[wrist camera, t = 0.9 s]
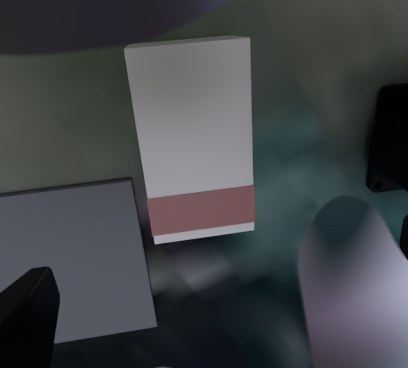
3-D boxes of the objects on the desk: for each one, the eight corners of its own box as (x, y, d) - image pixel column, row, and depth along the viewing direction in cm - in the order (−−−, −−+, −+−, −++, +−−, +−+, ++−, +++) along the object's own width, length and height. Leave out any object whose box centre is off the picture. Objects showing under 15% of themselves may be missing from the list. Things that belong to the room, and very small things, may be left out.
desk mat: (131, 178, 20) (131, 181, 20) (156, 322, 25) (157, 326, 24) (-115, 208, 19) (-121, 212, 19) (-40, 354, 24) (-43, 359, 23)
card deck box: (230, 35, 18) (251, 37, 14) (237, 195, 22) (255, 230, 18) (128, 44, 17) (122, 49, 14) (153, 206, 21) (153, 244, 17)
